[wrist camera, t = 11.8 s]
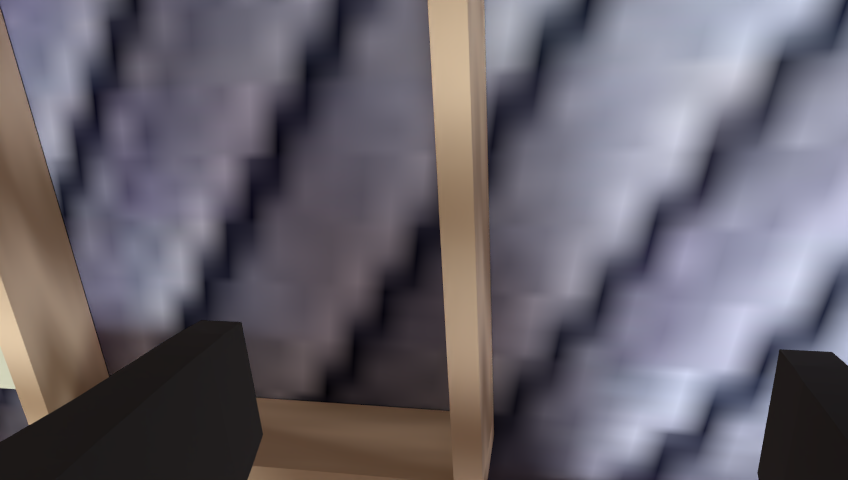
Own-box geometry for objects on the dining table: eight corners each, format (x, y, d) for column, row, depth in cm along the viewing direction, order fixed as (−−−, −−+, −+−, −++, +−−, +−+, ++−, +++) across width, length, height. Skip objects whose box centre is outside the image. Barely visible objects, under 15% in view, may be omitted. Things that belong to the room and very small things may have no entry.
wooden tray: (494, 434, 24) (483, 506, 22) (96, 405, 27) (44, 467, 24) (478, -220, 16) (460, -228, 14) (-84, -176, 19) (-191, -176, 16)
